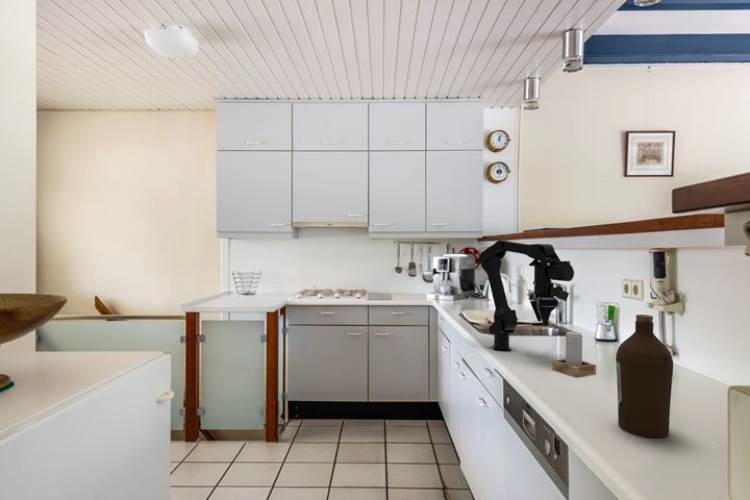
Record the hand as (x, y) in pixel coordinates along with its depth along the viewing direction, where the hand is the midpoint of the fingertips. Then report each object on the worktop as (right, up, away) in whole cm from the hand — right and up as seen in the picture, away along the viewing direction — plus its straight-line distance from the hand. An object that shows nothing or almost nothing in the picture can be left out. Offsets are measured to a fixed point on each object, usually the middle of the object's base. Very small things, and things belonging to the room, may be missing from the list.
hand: (542, 323), depth 149 cm
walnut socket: (+5, -13, -14) cm, 20 cm away
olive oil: (0, -14, -57) cm, 58 cm away
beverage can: (+5, -13, -14) cm, 19 cm away
